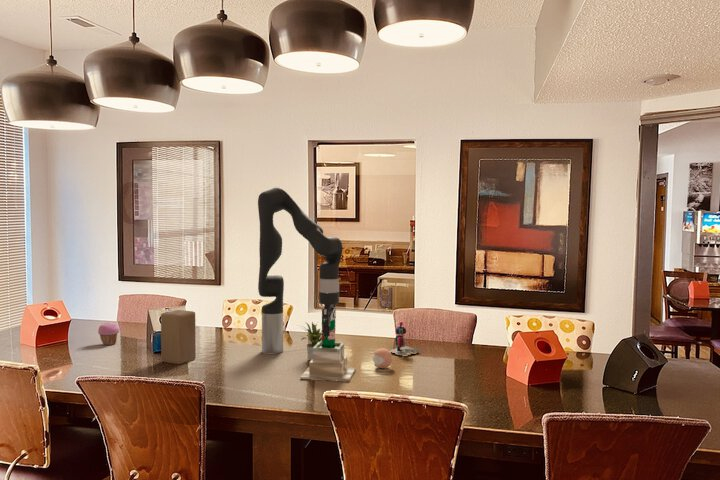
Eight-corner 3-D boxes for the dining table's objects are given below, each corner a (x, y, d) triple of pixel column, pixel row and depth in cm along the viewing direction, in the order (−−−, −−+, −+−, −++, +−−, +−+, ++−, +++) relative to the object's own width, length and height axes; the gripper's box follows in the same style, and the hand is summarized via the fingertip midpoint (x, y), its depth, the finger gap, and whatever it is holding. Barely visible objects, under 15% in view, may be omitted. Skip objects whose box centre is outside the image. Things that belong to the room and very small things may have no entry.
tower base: (309, 368, 218) (309, 339, 217) (355, 370, 215) (355, 341, 215) (300, 379, 203) (300, 349, 203) (349, 382, 201) (349, 351, 200)
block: (196, 359, 230) (196, 311, 229) (179, 365, 221) (178, 315, 220) (178, 356, 234) (177, 309, 233) (160, 362, 225) (159, 313, 224)
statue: (403, 360, 235) (401, 326, 233) (388, 355, 242) (385, 322, 240) (421, 353, 242) (419, 319, 240) (405, 348, 249) (403, 316, 247)
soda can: (330, 350, 205) (330, 318, 205) (319, 348, 208) (319, 316, 208) (337, 347, 210) (338, 316, 209) (327, 346, 212) (327, 314, 212)
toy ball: (369, 366, 221) (369, 347, 220) (386, 364, 224) (386, 345, 223) (377, 372, 213) (378, 351, 213) (395, 370, 216) (396, 349, 216)
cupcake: (123, 343, 256) (123, 322, 255) (106, 347, 248) (105, 325, 248) (111, 341, 260) (111, 320, 260) (94, 344, 253) (93, 323, 253)
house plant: (287, 359, 230) (288, 320, 230) (312, 353, 241) (313, 315, 240) (311, 366, 221) (311, 325, 220) (336, 359, 231) (336, 320, 230)
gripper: (323, 287, 215) (322, 329, 216) (314, 293, 201) (314, 337, 202) (342, 288, 214) (342, 330, 215) (335, 293, 200) (335, 338, 201)
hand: (328, 333), depth 209 cm, fingers open, 8 cm apart
